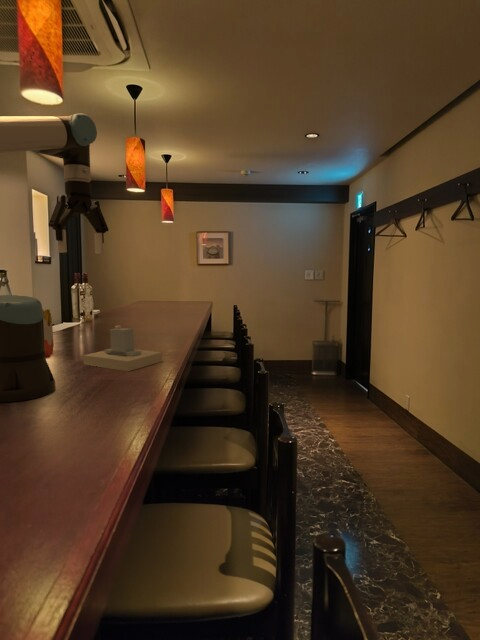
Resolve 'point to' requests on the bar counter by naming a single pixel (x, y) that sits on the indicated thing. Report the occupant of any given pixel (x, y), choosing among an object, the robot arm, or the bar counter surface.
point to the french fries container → (48, 333)
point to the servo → (122, 342)
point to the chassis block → (122, 360)
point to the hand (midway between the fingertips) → (81, 253)
